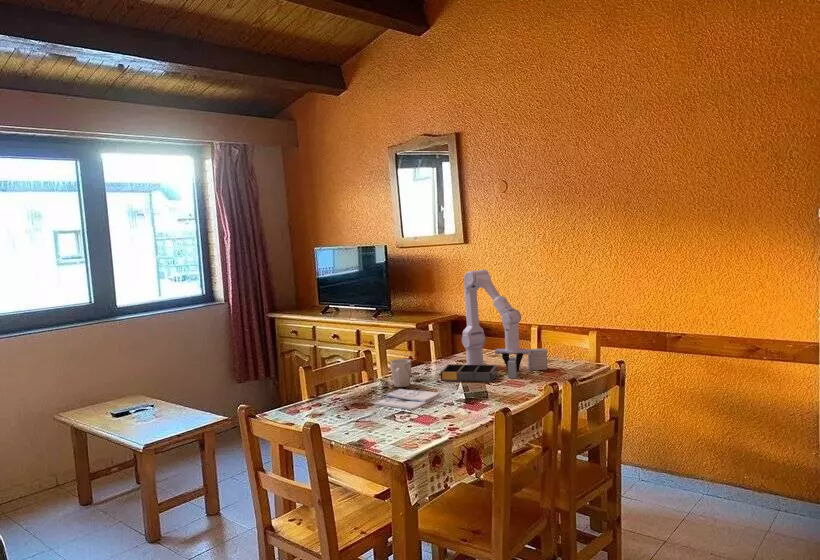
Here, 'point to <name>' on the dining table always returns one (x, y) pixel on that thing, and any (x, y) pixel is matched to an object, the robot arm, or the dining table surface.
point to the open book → (412, 396)
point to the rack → (469, 373)
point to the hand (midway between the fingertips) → (513, 371)
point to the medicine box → (537, 359)
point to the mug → (401, 372)
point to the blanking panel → (512, 368)
